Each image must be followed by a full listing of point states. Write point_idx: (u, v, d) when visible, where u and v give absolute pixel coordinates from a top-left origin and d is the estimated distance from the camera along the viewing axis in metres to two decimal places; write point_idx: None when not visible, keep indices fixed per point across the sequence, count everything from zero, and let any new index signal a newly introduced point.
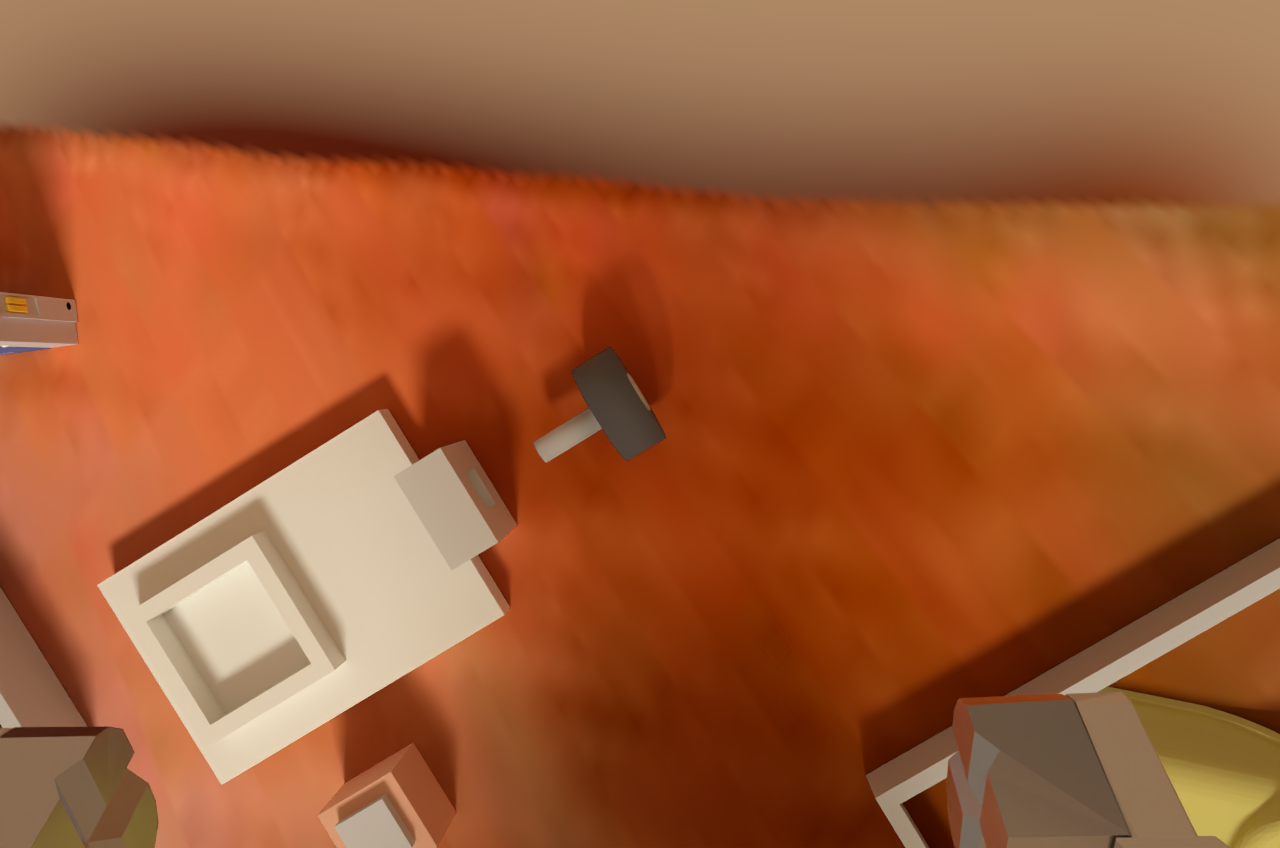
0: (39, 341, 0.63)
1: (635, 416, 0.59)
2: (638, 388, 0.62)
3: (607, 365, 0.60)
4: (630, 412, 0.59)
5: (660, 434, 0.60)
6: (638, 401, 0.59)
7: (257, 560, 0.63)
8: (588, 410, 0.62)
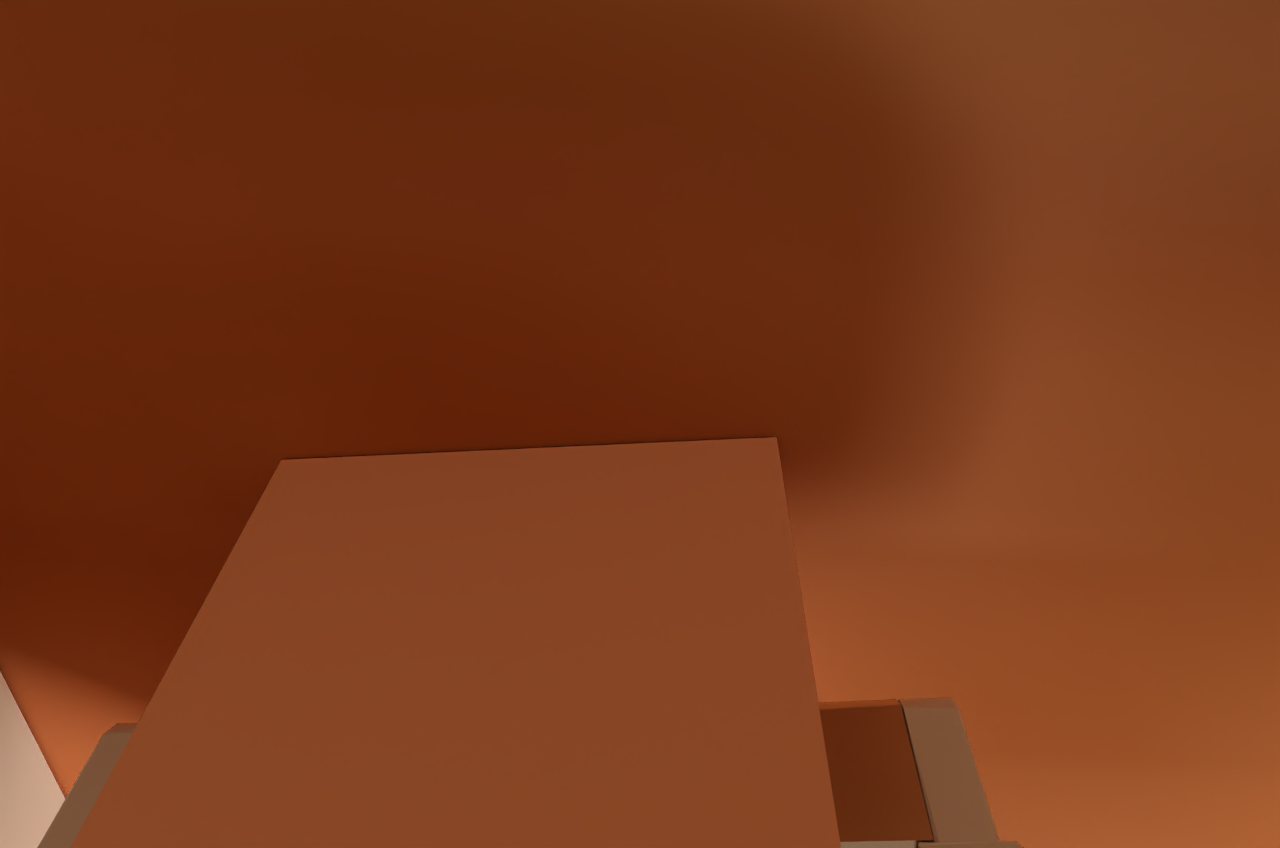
0: None
1: None
2: None
3: None
4: None
5: None
6: None
7: None
8: None
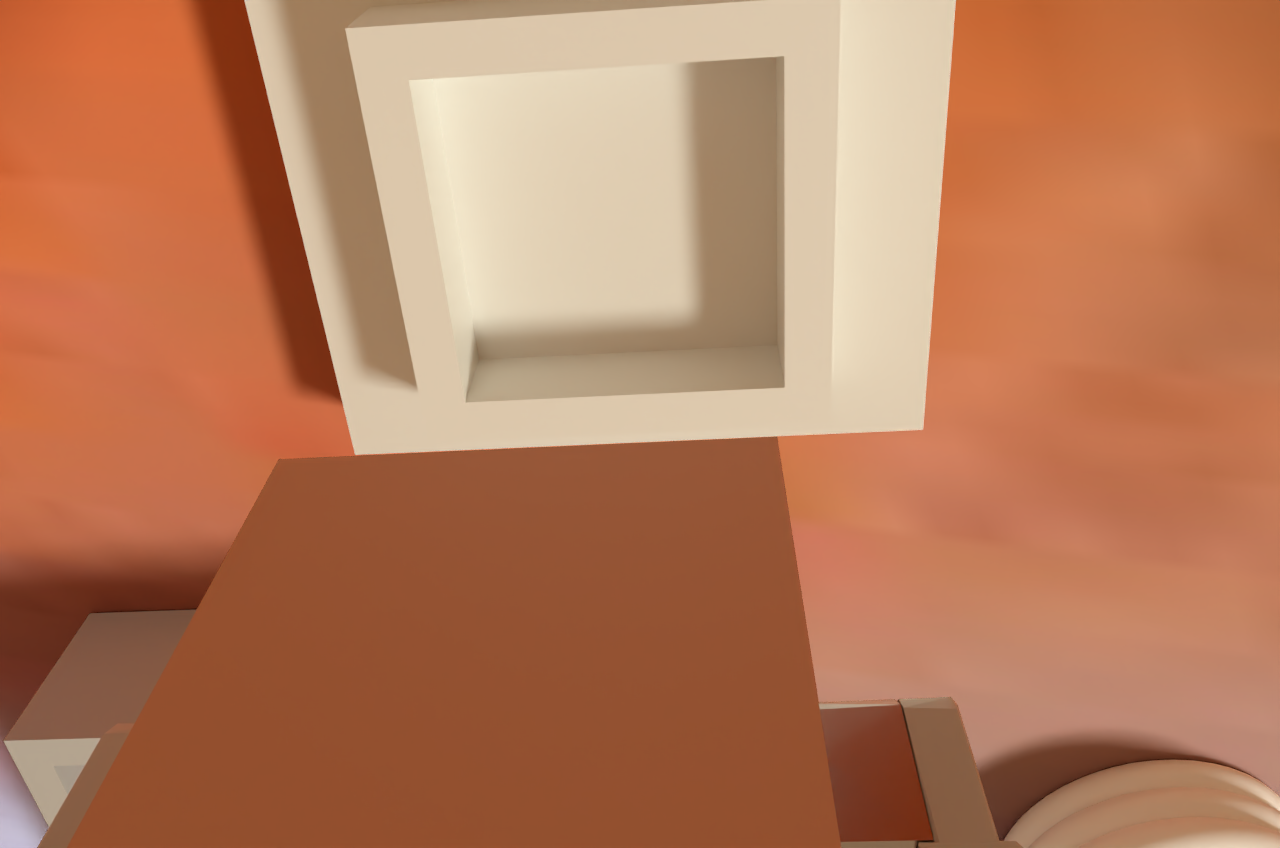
0: None
1: None
2: None
3: None
4: None
5: None
6: None
7: (423, 50, 0.20)
8: None
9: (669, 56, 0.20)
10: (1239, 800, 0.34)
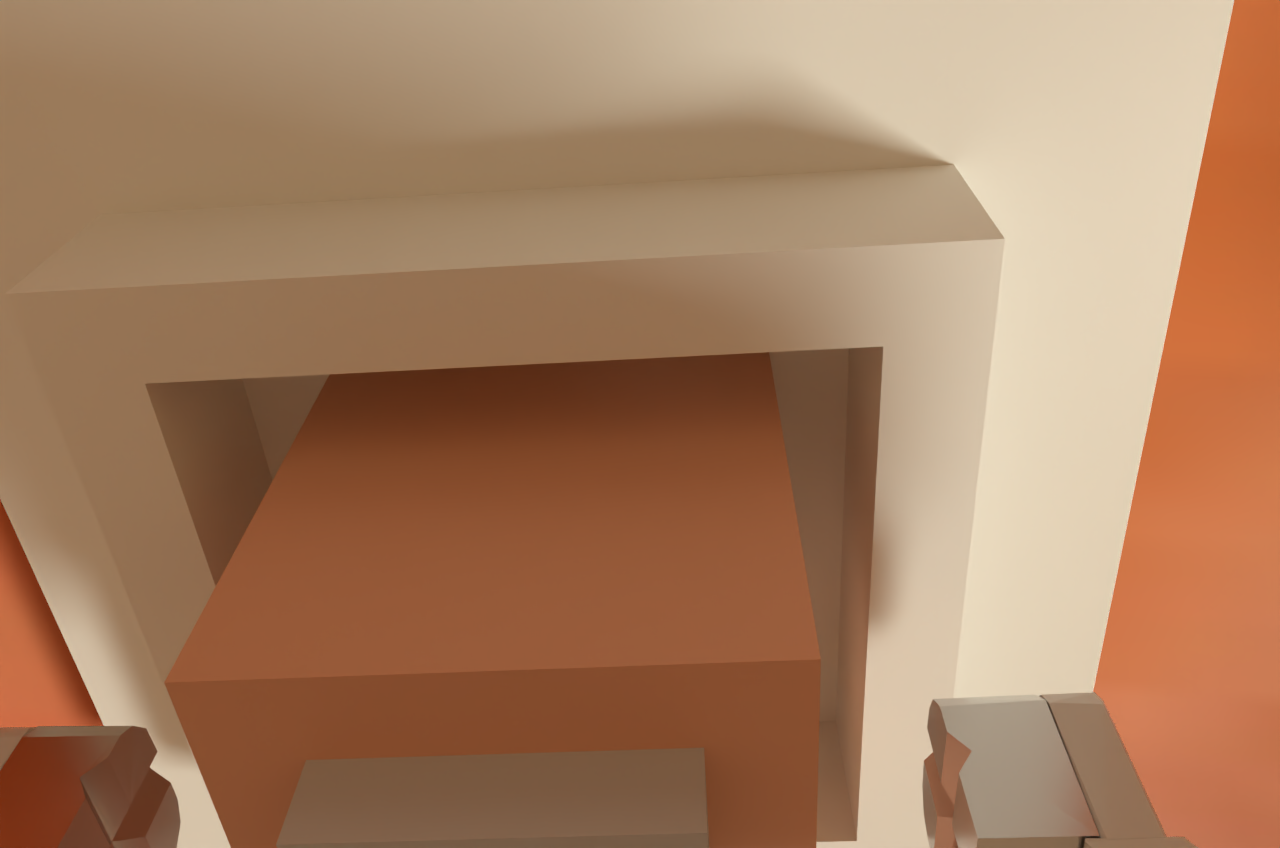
0: None
1: None
2: None
3: None
4: None
5: None
6: None
7: (166, 333, 0.10)
8: None
9: (655, 346, 0.10)
10: None
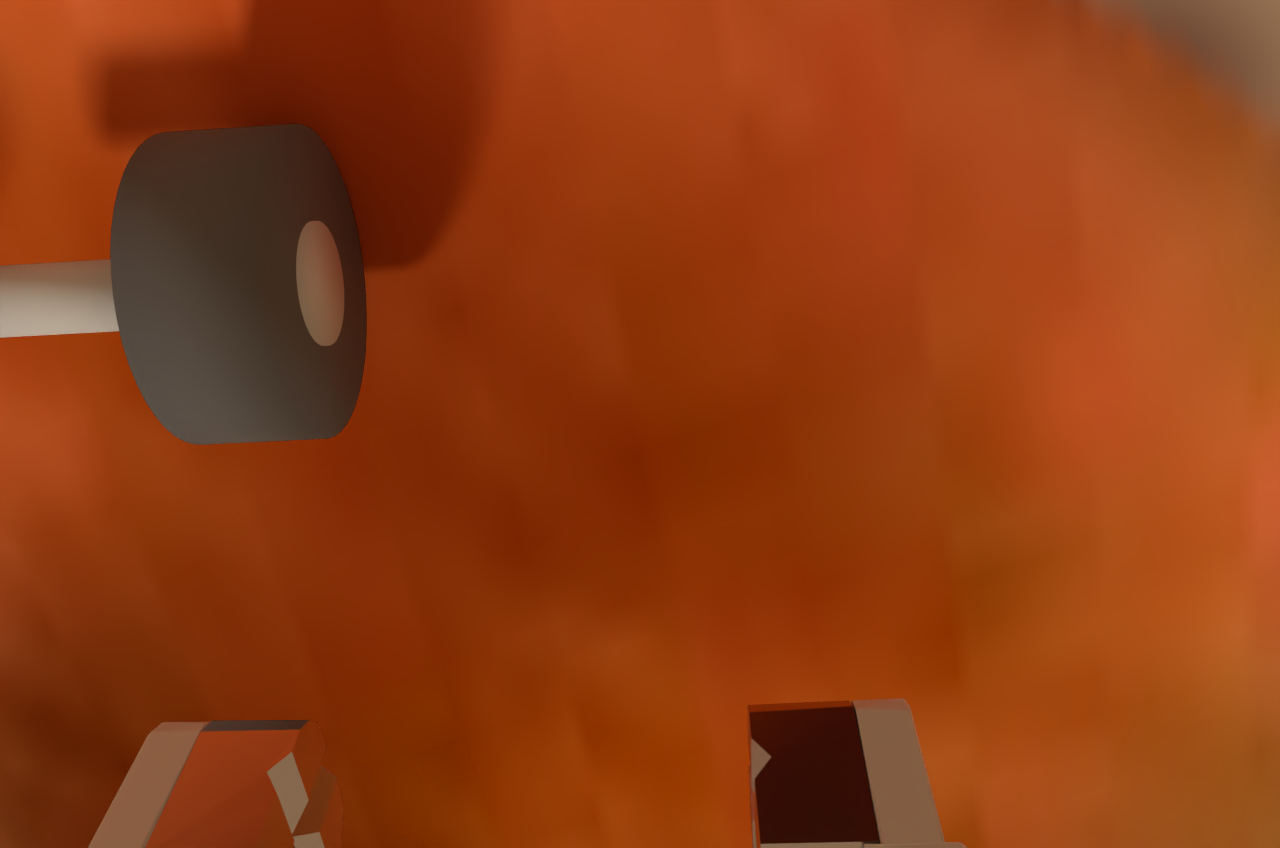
0: None
1: (254, 406, 0.19)
2: (331, 261, 0.22)
3: (226, 226, 0.18)
4: (241, 394, 0.19)
5: None
6: (275, 378, 0.19)
7: None
8: None
9: None
10: None
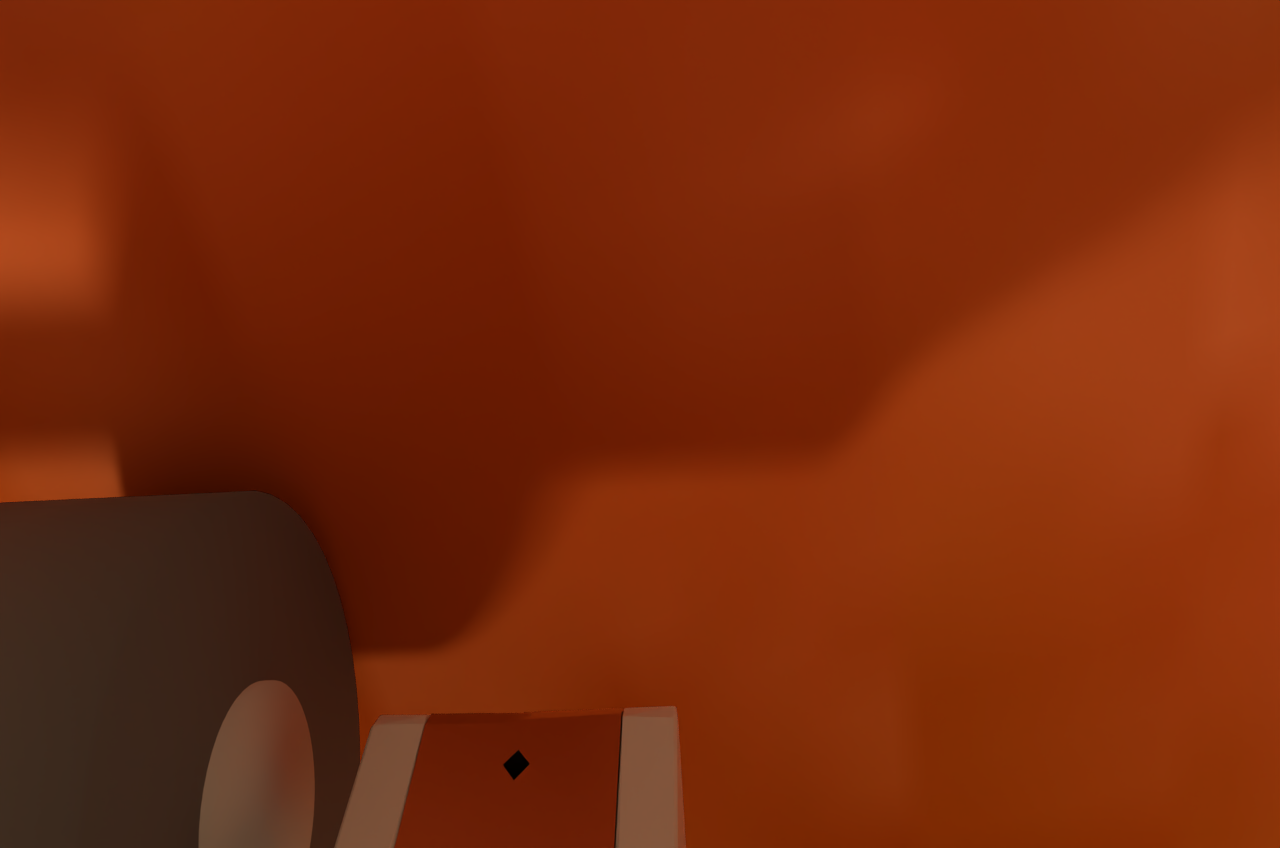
0: None
1: None
2: (285, 743, 0.11)
3: None
4: None
5: None
6: None
7: None
8: None
9: None
10: None
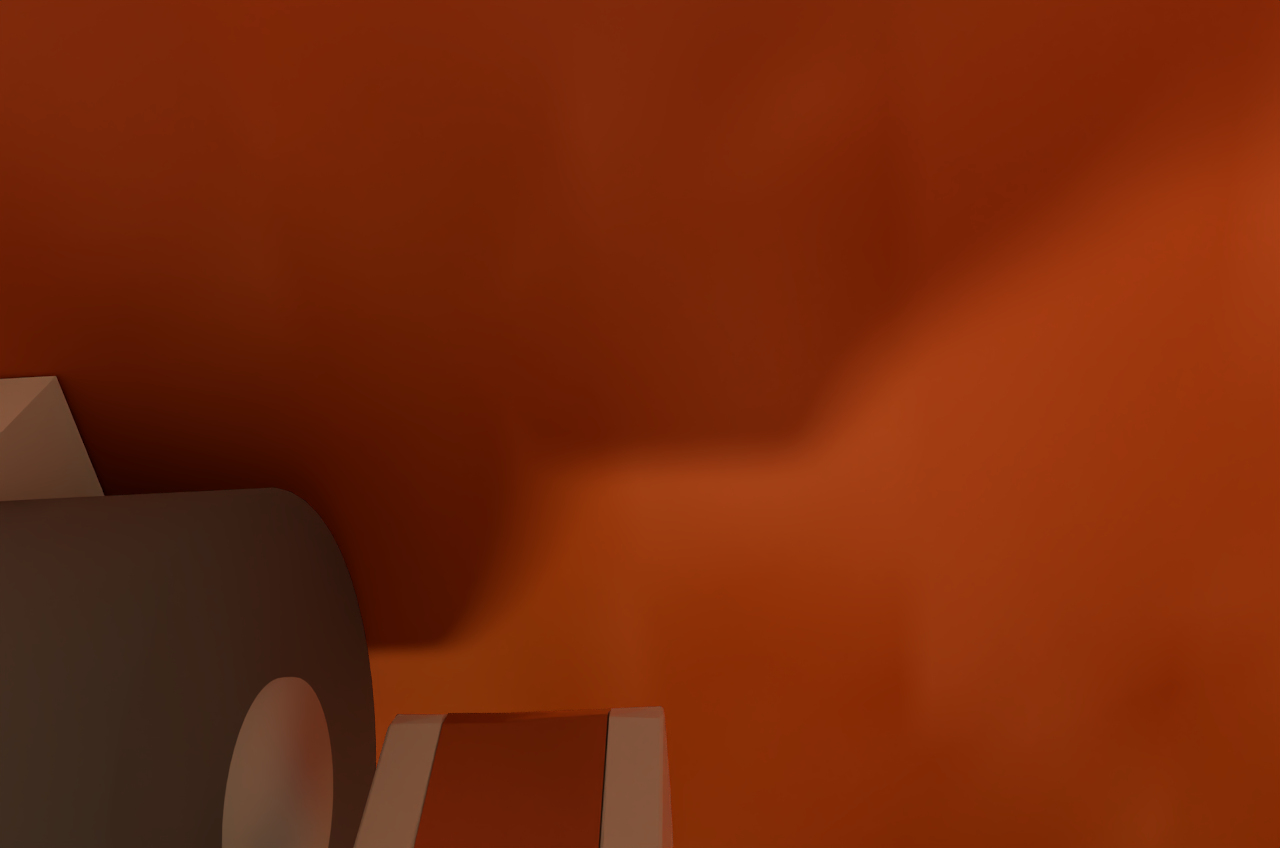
0: None
1: None
2: (305, 740, 0.11)
3: None
4: None
5: None
6: None
7: None
8: None
9: None
10: None
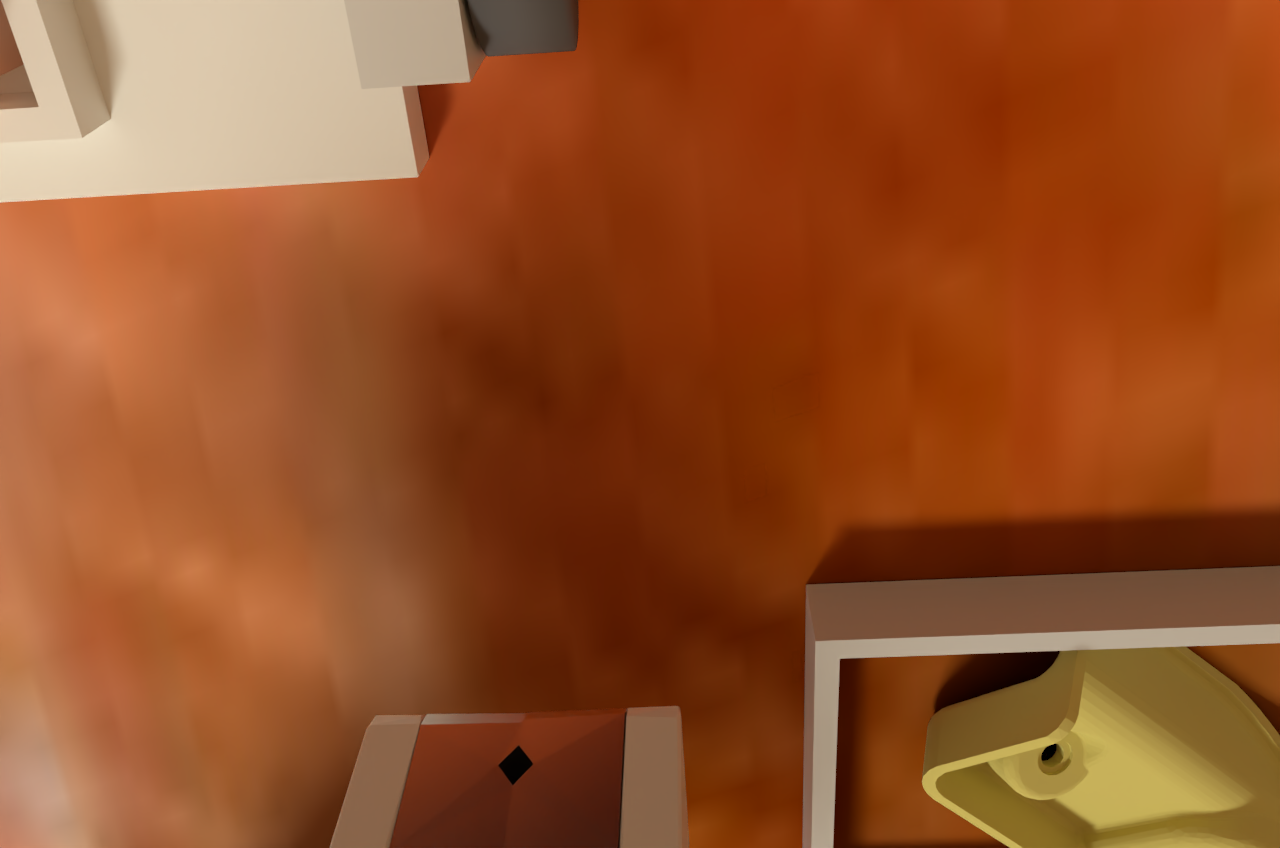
0: None
1: None
2: None
3: None
4: None
5: (569, 46, 0.31)
6: None
7: None
8: None
9: (17, 34, 0.32)
10: None
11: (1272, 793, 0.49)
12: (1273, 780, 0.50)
